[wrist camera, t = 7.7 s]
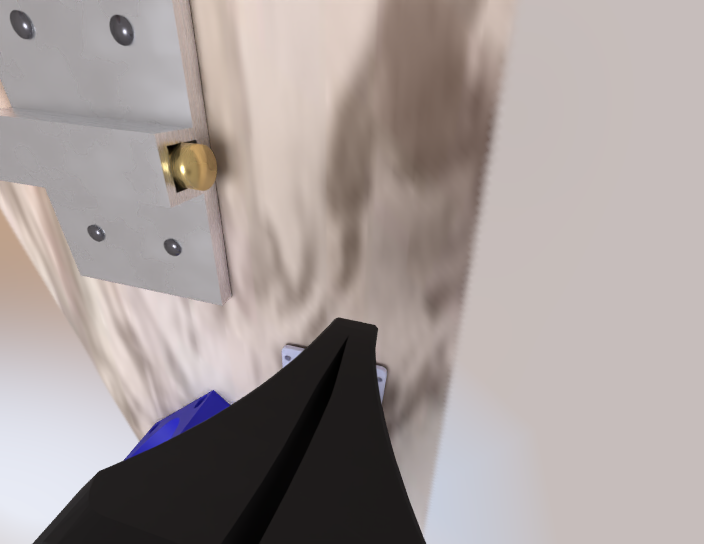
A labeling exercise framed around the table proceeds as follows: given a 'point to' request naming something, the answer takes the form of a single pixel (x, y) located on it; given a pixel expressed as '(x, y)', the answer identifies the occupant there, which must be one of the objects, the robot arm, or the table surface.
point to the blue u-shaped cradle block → (181, 421)
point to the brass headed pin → (193, 166)
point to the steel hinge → (113, 137)
